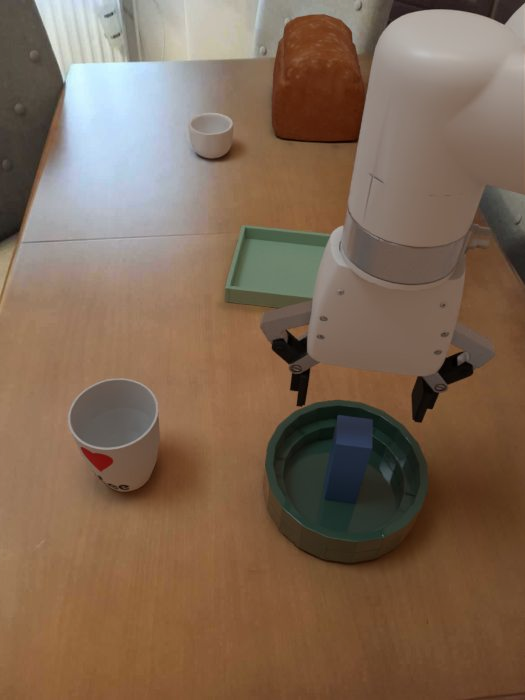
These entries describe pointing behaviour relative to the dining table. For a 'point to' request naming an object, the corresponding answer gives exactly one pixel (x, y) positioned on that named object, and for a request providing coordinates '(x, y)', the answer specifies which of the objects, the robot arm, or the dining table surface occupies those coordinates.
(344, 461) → the block
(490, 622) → the dining table surface
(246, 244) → the tray
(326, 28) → the bread
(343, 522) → the green bowl
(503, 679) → the dining table surface
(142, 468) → the cup
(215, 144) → the teacup
